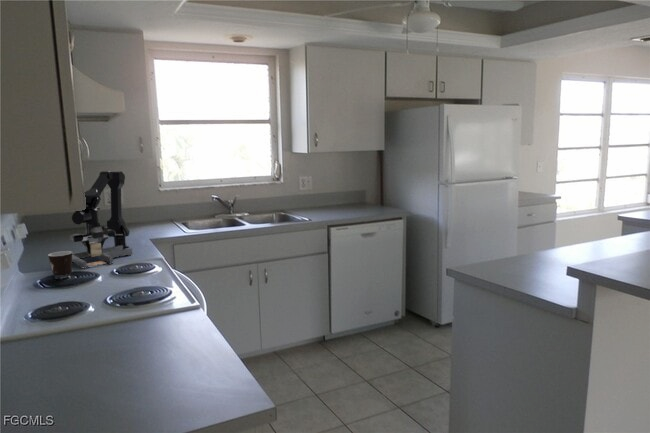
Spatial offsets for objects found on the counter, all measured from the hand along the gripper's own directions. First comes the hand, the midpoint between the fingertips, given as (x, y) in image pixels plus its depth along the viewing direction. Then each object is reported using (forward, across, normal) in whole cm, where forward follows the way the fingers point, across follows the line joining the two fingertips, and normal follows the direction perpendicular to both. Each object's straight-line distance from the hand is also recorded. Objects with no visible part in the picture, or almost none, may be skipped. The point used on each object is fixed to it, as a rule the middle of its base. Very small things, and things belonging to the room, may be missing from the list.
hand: (95, 253), depth 223 cm
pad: (+3, -4, -12) cm, 13 cm away
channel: (+3, +2, -5) cm, 6 cm away
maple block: (+1, 0, 0) cm, 1 cm away
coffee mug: (+3, -21, -24) cm, 32 cm away
